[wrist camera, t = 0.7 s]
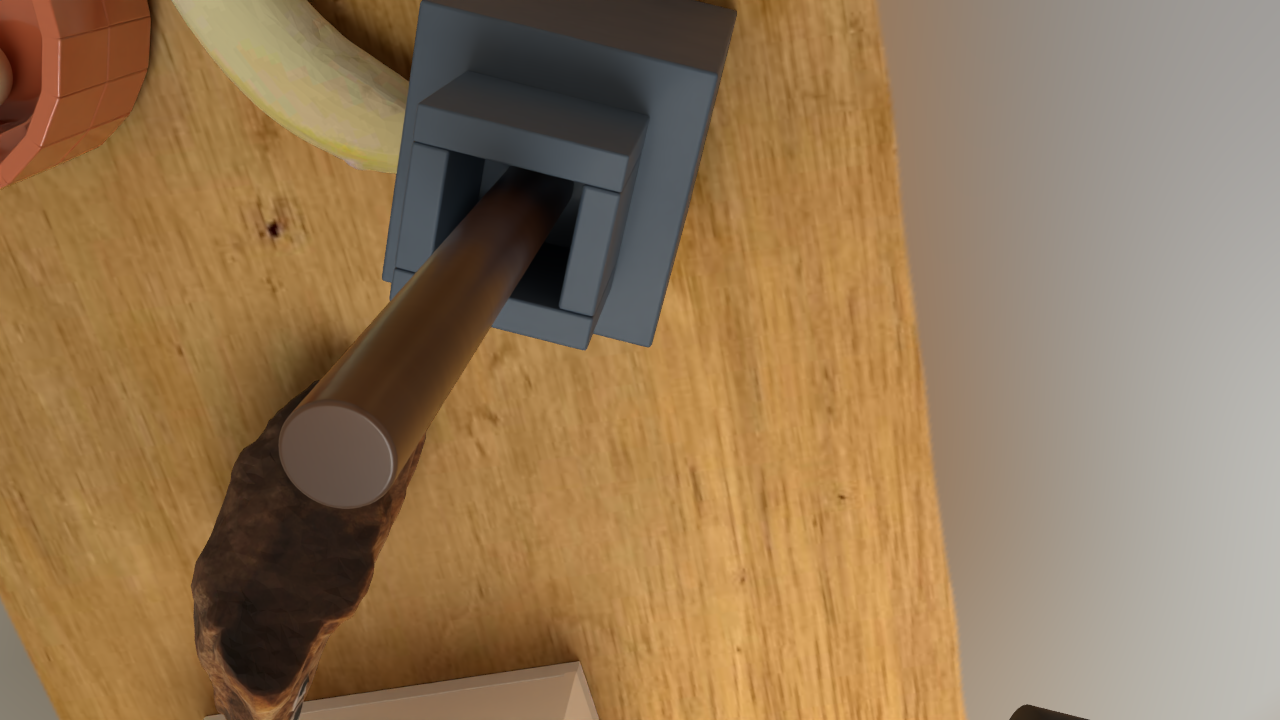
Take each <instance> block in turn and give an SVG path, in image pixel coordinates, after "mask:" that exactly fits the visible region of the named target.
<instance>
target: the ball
mask: <svg viewBox="0 0 1280 720" xmlns="http://www.w3.org/2000/svg"><path fill="white" fill-rule="evenodd" d="M12 84H13V74H12V69H11V65H10V63H9V60H8V59H7V57H6V55H5V54H4V52H3V51H2V50H1V49H0V106H1V105H2V104H3V103H4V102H5V100H6V99H7V98H8V96H9V94H10V91H11V88H12Z"/></svg>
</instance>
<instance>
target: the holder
mask: <svg viewBox="0 0 1280 720" xmlns="http://www.w3.org/2000/svg"><path fill="white" fill-rule="evenodd" d="M736 16H737V11H735V10H732V9H728V8H724V7H720V6H715V5H711V4H707V3H703V2H699V1H695V0H422V1H421V3H420V9H419V17H418V24H417V31H416V38H415V45H414V52H413V59H412V67H411V74H410V81H409V88H408V95H407V102H406V109H405V117H404V124H403V131H402V138H401V145H400V152H399V159H398V166H397V174H396V181H395V188H394V195H393V202H392V209H391V216H390V224H389V231H388V238H387V245H386V252H385V259H384V266H383V274H382V279H383V280H384V281H387V282H391V283H392V284H391V291H390V301H391V300H392V299H393V298H394V297H395V296H396V294H397V293H398V292H399V291H400V290H401V289H402V288H403V287H404V285H405V284H406V283H407V282H408V281H409V280H410V279H411V278H412V276H413V275H414V274H415V273H416V272H417V271H418V270H419V268H420V267H421V266H422V265H423V264H424V263H425V262H426V261H427V259H428V258H429V257H430V256H431V255H432V254H433V253H434V252H435V250H436V249H437V248H438V247H439V246H440V245H441V244H442V243H443V241H444V240H445V239H446V238H447V237H448V236H449V235H450V234H451V232H452V231H453V230H454V229H455V228H456V227H457V226H458V225H459V223H460V222H461V221H462V220H463V219H464V218H465V217H466V215H467V214H468V213H469V212H470V211H471V210H472V209H473V208H474V206H475V205H476V204H477V203H478V202H479V201H480V200H481V199H482V197H483V196H484V195H485V194H486V193H487V192H488V191H489V190H490V188H491V187H492V186H493V185H494V184H495V183H496V182H497V181H498V179H499V178H500V177H501V176H502V175H503V174H504V173H505V172H506V170H507V169H508V168H509V167H510V166H515V167H519V168H523V169H527V170H531V171H535V172H539V173H543V174H547V175H551V176H555V177H559V178H563V179H567V180H571V181H573V193H572V197H571V199H570V201H569V202H568V204H567V206H566V207H565V209H564V211H563V212H562V214H561V215H560V217H559V219H558V220H557V222H556V223H555V225H554V227H553V228H552V230H551V231H550V233H549V235H548V236H547V238H546V239H545V241H544V243H543V244H542V246H541V247H540V249H539V251H538V252H537V254H536V255H535V257H534V259H533V260H532V262H531V263H530V265H529V267H528V268H527V270H526V271H525V273H524V275H523V276H522V278H521V279H520V281H519V283H518V284H517V286H516V287H515V289H514V291H513V292H512V294H511V295H510V297H509V299H508V300H507V302H506V303H505V305H504V307H503V308H502V310H501V311H500V313H499V315H498V316H497V318H496V320H495V321H494V323H493V324H492V326H491V327H493V328H497V329H501V330H505V331H509V332H513V333H517V334H521V335H525V336H529V337H533V338H537V339H541V340H545V341H549V342H553V343H557V344H560V345H564V346H568V347H572V348H576V349H580V350H586V349H587V347H588V345H589V342H590V340H591V337H592V335H593V334H597V335H601V336H605V337H609V338H613V339H617V340H621V341H625V342H628V343H632V344H636V345H640V346H644V347H650V346H651V345H652V342H653V338H654V335H655V331H656V327H657V323H658V320H659V316H660V312H661V309H662V305H663V301H664V298H665V294H666V290H667V286H668V283H669V279H670V275H671V272H672V268H673V264H674V261H675V257H676V253H677V249H678V246H679V242H680V238H681V235H682V231H683V227H684V224H685V220H686V216H687V212H688V208H689V204H690V200H691V196H692V192H693V188H694V184H695V180H696V176H697V172H698V168H699V164H700V160H701V156H702V152H703V148H704V144H705V140H706V136H707V132H708V128H709V124H710V120H711V116H712V112H713V108H714V104H715V100H716V96H717V92H718V88H719V84H720V80H721V76H722V72H723V68H724V64H725V60H726V56H727V52H728V48H729V44H730V40H731V36H732V32H733V28H734V24H735V20H736Z"/></svg>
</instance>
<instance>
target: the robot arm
mask: <svg viewBox="0 0 1280 720" xmlns="http://www.w3.org/2000/svg"><path fill="white" fill-rule="evenodd" d="M1010 720H1088V719H1084V718H1080V717H1076V716H1072V715H1068V714H1064V713H1060V712H1056V711H1052V710H1048V709H1044V708H1039V707H1035V706H1032V705H1023V706H1021V707H1020V708H1018V709H1017V710H1016V711H1015V712H1014V714H1013V715H1012V716H1011V718H1010Z"/></svg>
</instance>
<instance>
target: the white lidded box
mask: <svg viewBox="0 0 1280 720" xmlns="http://www.w3.org/2000/svg"><path fill="white" fill-rule="evenodd" d="M203 720H226V719H225V717H224V715H222V714H218V715H212V716H205V718H204V719H203ZM299 720H599V717H598V714H597V711H596V708H595V705H594V702H593V699H592V696H591V693H590V690H589V687H588V684H587V681H586V678H585V675H584V672H583V669H582V666H581V664H580V661H577V662H570V663H563V664H557V665H550V666H543V667H536V668H530V669H523V670H516V671H509V672H503V673H496V674H489V675H482V676H476V677H469V678H462V679H455V680H448V681H442V682H435V683H428V684H421V685H415V686H408V687H401V688H394V689H388V690H381V691H374V692H367V693H361V694H354V695H347V696H340V697H333V698H327V699H320V700H313V701H306V702H303V705H302V709H301V713H300V717H299Z"/></svg>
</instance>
